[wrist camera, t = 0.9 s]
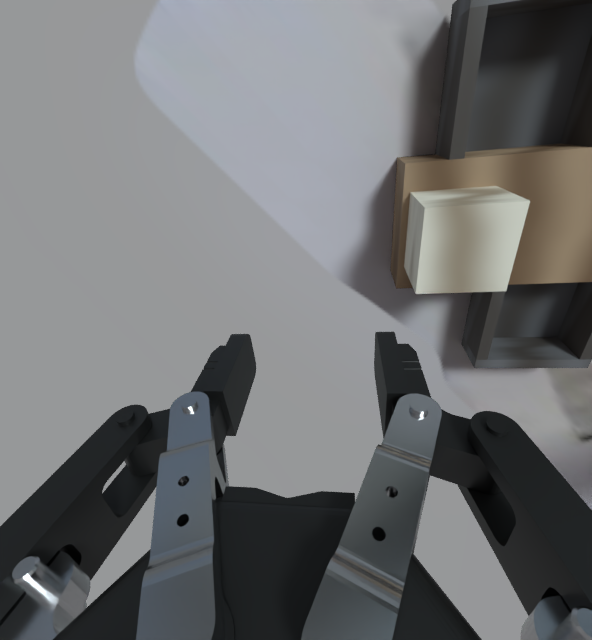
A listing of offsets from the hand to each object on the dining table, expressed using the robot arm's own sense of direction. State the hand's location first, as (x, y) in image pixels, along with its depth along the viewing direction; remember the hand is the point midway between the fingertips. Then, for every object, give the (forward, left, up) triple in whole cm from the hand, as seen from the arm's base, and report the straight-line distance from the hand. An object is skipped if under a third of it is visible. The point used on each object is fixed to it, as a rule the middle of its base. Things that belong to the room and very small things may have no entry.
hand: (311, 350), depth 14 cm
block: (-10, 0, -16) cm, 18 cm away
